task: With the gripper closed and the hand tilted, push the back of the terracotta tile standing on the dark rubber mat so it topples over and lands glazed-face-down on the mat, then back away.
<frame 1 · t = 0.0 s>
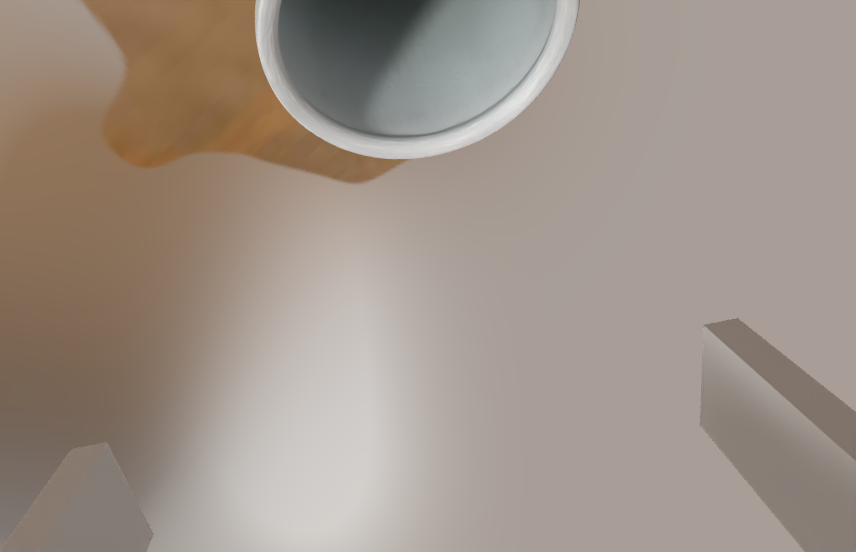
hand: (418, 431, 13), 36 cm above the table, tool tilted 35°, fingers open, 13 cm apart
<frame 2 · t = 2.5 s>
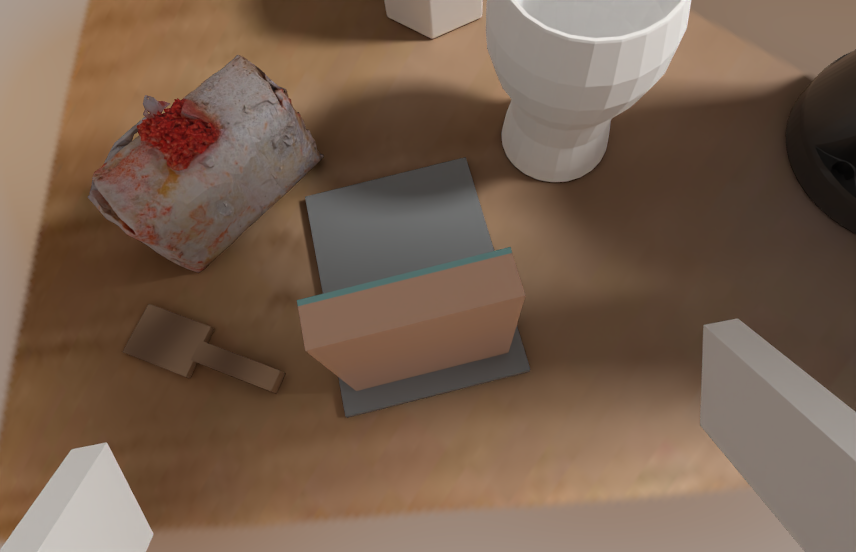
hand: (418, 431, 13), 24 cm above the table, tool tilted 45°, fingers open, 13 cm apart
tile: (428, 353, 37), point 1 cm above the table, touching mat
mat: (410, 280, 39), on the table
food item: (234, 198, 43), on the table
spatula: (208, 355, 38), on the table
cup: (553, 138, 42), on the table
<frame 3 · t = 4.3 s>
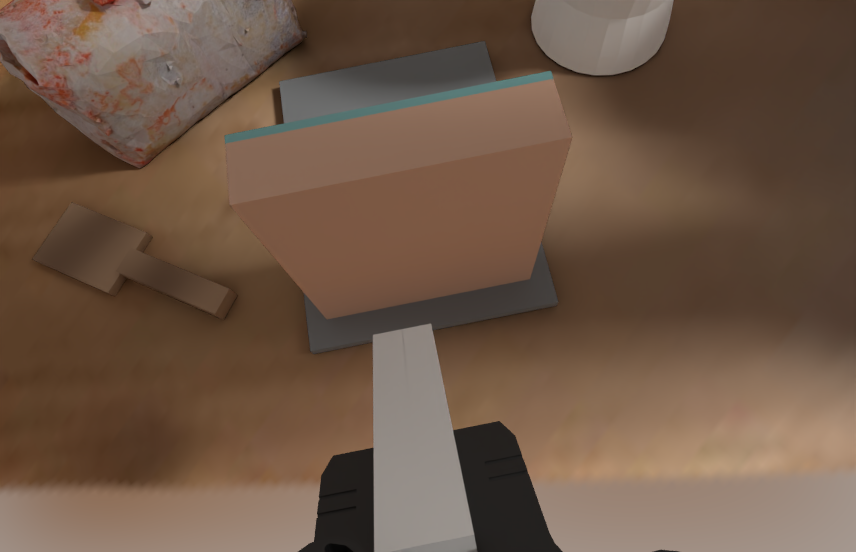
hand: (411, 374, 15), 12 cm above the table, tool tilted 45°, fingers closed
tile: (423, 276, 28), point 1 cm above the table, touching mat
mat: (406, 187, 30), on the table
food item: (194, 83, 34), on the table
spatula: (141, 269, 30), on the table
cup: (596, 25, 34), on the table
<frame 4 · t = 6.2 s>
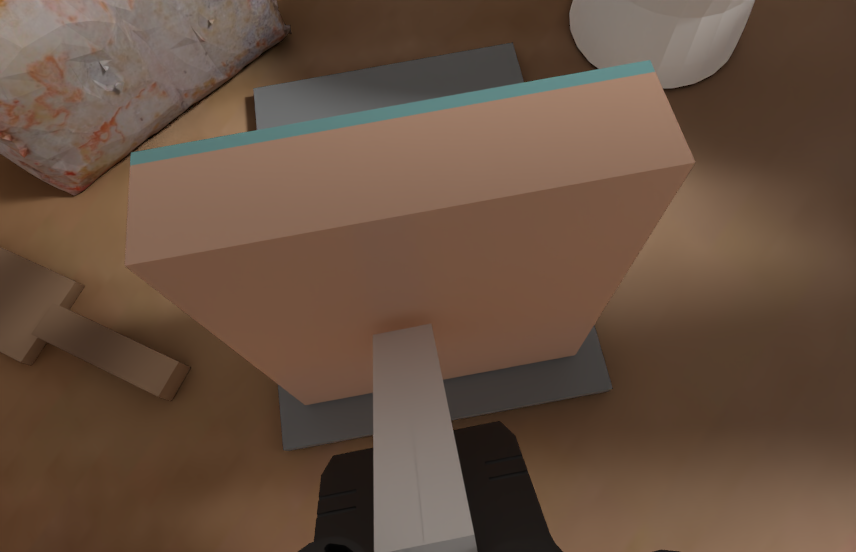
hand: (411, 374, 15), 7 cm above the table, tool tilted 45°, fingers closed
tile: (434, 348, 21), point 1 cm above the table, touching gripper, mat
mat: (413, 227, 24), on the table
food item: (149, 88, 27), on the table
spatula: (68, 329, 23), on the table
cup: (650, 26, 27), on the table
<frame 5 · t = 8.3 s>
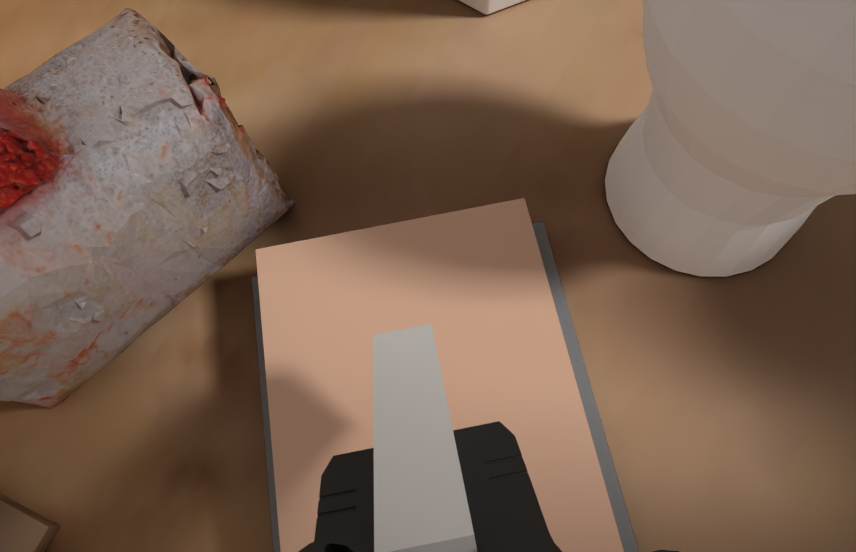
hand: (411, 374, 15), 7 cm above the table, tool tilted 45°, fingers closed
mat: (435, 453, 21), on the table
food item: (137, 267, 24), on the table
cup: (696, 194, 24), on the table
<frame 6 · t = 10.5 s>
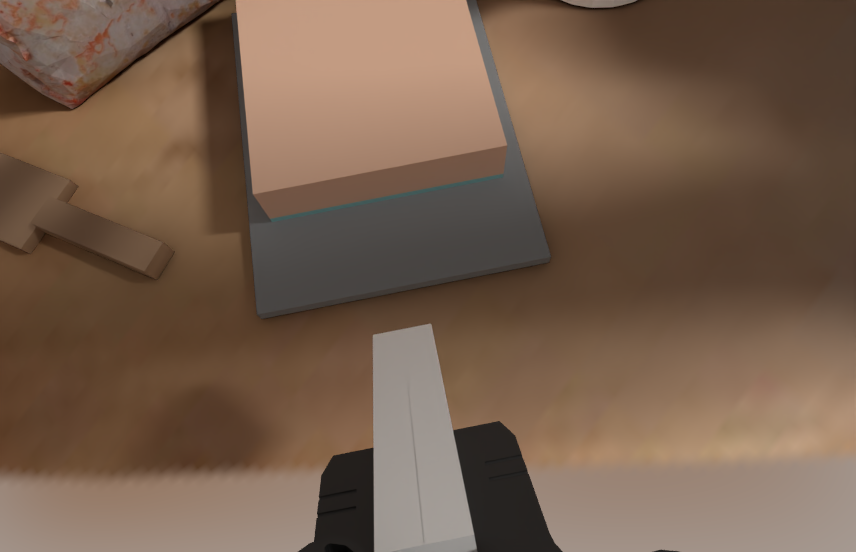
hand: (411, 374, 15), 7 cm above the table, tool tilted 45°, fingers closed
tile: (384, 185, 23), point 2 cm above the table, tilted 90°, touching mat
mat: (376, 130, 26), on the table
food item: (139, 18, 30), on the table
spatula: (64, 223, 25), on the table
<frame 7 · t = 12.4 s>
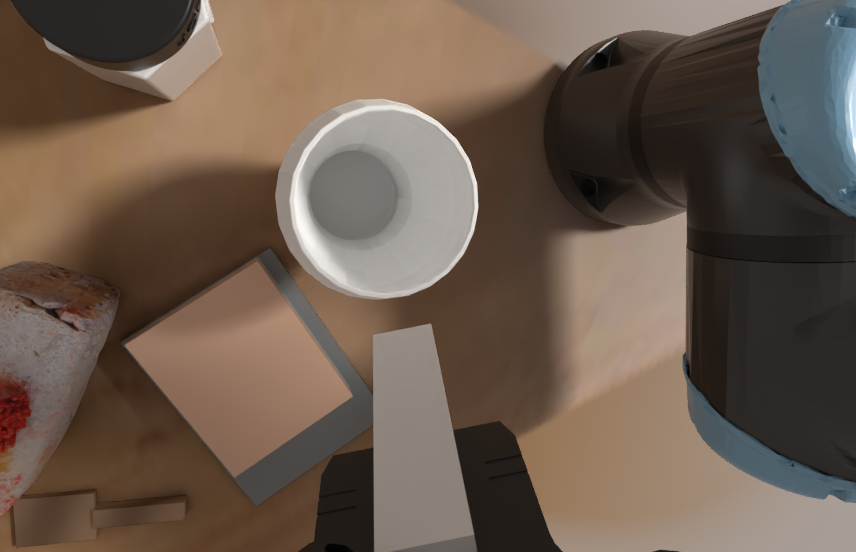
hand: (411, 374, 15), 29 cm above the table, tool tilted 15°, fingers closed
jar: (151, 31, 37), on the table
tile: (294, 429, 42), point 2 cm above the table, tilted 90°, touching mat
mat: (263, 379, 43), on the table
food item: (38, 359, 39), on the table
spatula: (105, 511, 41), on the table
cup: (347, 194, 42), on the table
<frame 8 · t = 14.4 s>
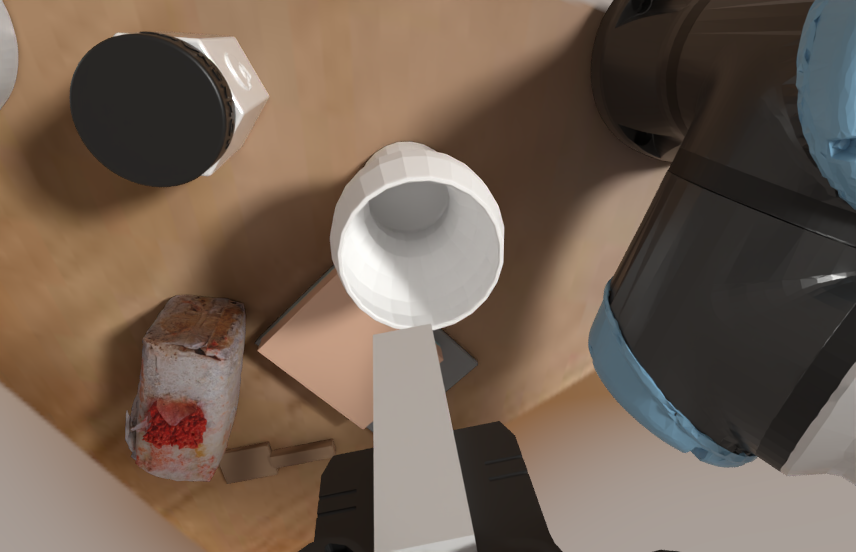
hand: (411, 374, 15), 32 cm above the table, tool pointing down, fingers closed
jar: (207, 91, 42), on the table
tile: (401, 387, 51), point 2 cm above the table, tilted 90°, touching mat
mat: (369, 350, 52), on the table
food item: (202, 360, 51), on the table
spatula: (278, 454, 55), on the table
cup: (406, 189, 46), on the table
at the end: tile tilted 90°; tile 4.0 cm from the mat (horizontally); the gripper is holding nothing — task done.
